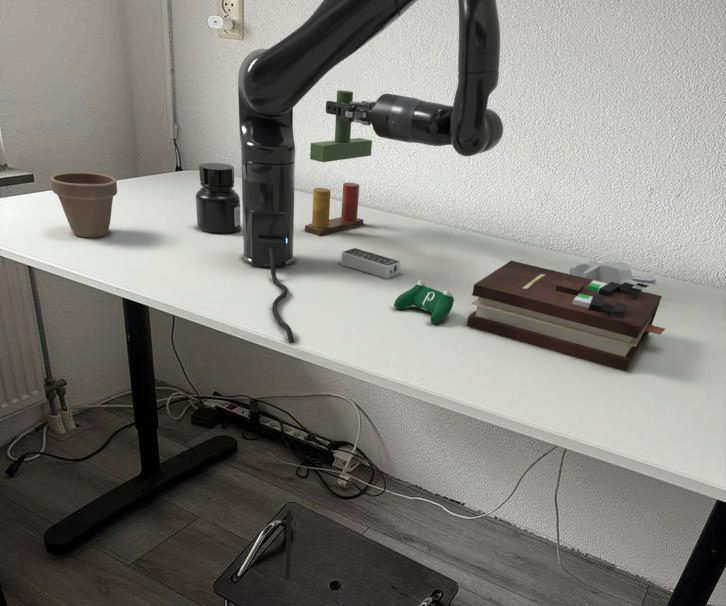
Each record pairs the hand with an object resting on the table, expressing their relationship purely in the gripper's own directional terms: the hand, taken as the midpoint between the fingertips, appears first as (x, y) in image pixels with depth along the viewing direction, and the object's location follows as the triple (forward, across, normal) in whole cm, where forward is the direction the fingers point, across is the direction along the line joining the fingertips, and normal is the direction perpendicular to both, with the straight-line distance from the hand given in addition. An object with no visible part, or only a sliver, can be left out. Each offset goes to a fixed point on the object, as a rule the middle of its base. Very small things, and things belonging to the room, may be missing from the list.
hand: (333, 106), depth 134 cm
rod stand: (-2, 0, +23) cm, 23 cm away
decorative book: (-64, +18, +24) cm, 70 cm away
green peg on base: (-3, 0, +9) cm, 9 cm away
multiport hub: (-25, +17, +24) cm, 38 cm away
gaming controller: (-45, +28, +24) cm, 58 cm away
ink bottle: (+12, +21, +24) cm, 34 cm away
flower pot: (+23, +44, +23) cm, 55 cm away
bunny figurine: (-61, -10, +24) cm, 67 cm away
